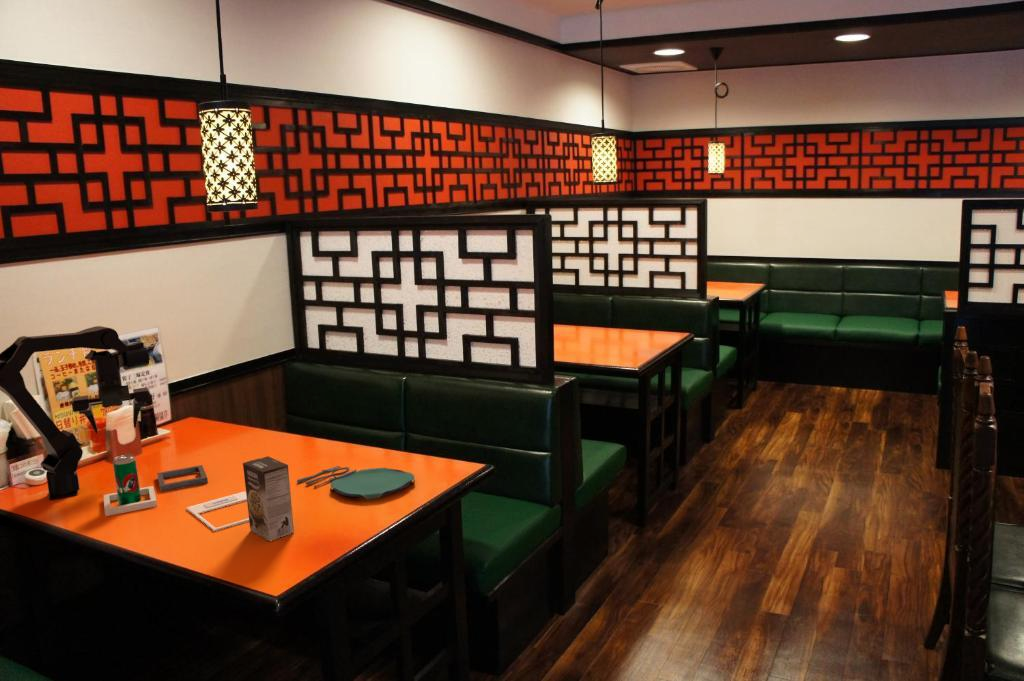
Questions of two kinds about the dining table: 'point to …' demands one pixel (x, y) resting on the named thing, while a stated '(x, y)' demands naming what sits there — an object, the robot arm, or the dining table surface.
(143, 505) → the front socket
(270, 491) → the coffee box
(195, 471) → the back socket
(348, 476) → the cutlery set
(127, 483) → the soda can
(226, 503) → the photo frame
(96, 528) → the dining table surface
